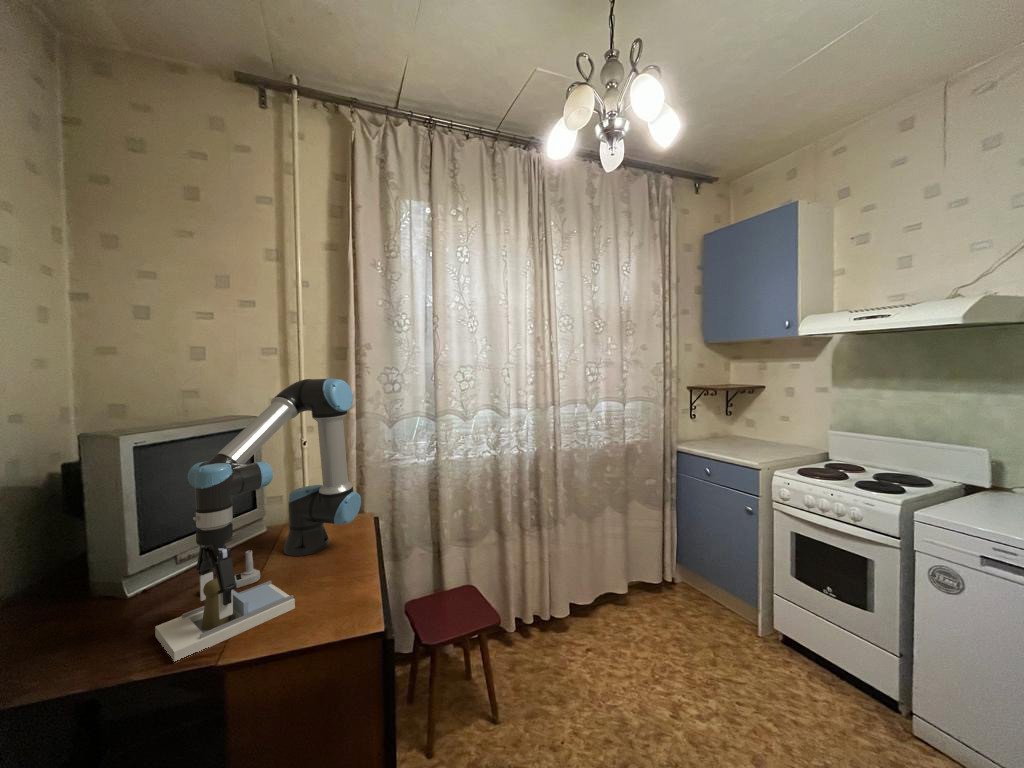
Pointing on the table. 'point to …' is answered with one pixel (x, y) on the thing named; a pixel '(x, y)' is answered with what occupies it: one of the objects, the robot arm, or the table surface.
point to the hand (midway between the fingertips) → (216, 607)
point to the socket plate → (190, 637)
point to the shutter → (255, 599)
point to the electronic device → (247, 572)
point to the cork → (212, 606)
